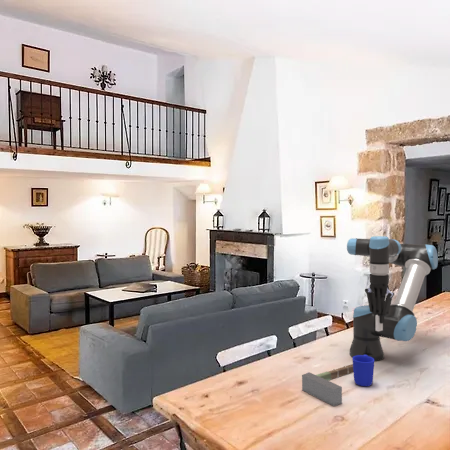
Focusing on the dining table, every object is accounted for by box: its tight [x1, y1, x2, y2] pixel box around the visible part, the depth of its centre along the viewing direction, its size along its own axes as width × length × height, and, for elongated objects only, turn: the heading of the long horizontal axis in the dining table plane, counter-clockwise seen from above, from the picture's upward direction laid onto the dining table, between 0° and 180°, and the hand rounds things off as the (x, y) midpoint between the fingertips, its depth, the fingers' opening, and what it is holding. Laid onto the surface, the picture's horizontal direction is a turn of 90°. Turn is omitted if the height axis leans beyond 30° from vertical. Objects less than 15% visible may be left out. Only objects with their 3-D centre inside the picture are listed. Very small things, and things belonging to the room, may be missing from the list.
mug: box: [351, 355, 375, 387], centre depth 169 cm, size 8×12×10 cm
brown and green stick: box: [316, 363, 354, 381], centre depth 174 cm, size 2×30×3 cm, turn 123°
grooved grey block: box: [301, 372, 343, 407], centre depth 157 cm, size 16×5×6 cm, turn 33°
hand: (379, 330), depth 177 cm, fingers closed
